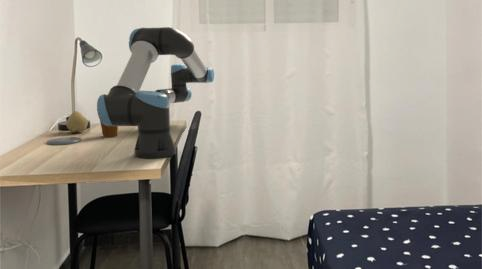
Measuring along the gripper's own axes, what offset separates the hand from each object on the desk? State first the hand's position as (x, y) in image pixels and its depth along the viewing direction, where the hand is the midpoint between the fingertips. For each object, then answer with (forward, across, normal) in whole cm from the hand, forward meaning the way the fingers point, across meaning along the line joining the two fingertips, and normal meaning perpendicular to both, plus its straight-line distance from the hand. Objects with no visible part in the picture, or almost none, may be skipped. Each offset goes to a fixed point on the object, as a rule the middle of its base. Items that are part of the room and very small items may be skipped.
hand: (126, 100), depth 220 cm
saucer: (+31, +3, -15) cm, 34 cm away
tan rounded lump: (+15, +22, -16) cm, 31 cm away
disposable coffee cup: (+10, 0, -16) cm, 19 cm away
